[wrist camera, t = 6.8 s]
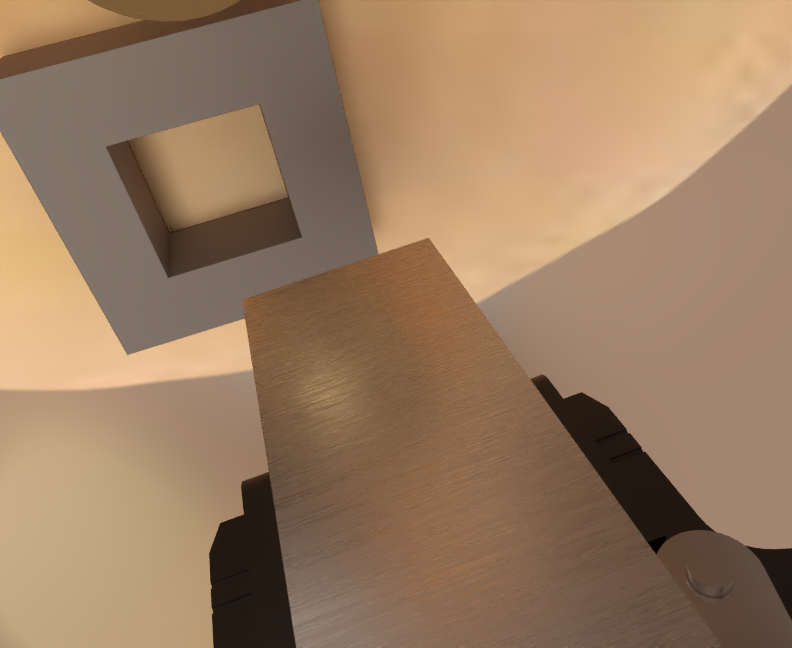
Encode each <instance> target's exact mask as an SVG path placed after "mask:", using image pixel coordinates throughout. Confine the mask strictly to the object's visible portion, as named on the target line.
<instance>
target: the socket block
mask: <svg viewBox="0 0 792 648" xmlns="http://www.w3.org/2000/svg"><path fill="white" fill-rule="evenodd" d="M257 104H259V105H260V108H261V111H262V115H263V118H264V121H265V124H266V127H267V130H268V134H269V137H270V140H271V143H272V146H273V150H274V153H275V156H276V159H277V162H278V165H279V169H280V172H281V175H282V178H283V181H284V184H285V188H286V191H287V194H288V197H289V198H286V199H283V200H280V201H276V202H273V203H269V204H266V205H263V206H259V207H256V208H253V209H249V210H246V211H242V212H239V213H236V214H232V215H229V216H225V217H222V218H219V219H215V220H212V221H208V222H205V223H202V224H198V225H195V226H191V227H188V228H185V229H181V230H178V231H175V232H171V233H169V232H168V229H167V227H166V225H165V223H164V221H163V218H162V216H161V214H160V212H159V209H158V207H157V205H156V203H155V201H154V198H153V196H152V194H151V192H150V190H149V187H148V185H147V183H146V181H145V179H144V176H143V174H142V172H141V170H140V167H139V165H138V163H137V161H136V159H135V156H134V154H133V152H132V150H131V148H130V145H129V143H128V140H131V139H135V138H138V137H142V136H146V135H149V134H153V133H156V132H160V131H164V130H167V129H171V128H174V127H178V126H182V125H185V124H189V123H192V122H196V121H200V120H203V119H207V118H210V117H214V116H218V115H221V114H225V113H228V112H232V111H236V110H239V109H243V108H246V107H250V106H254V105H257ZM0 132H1V133H2V135H3V137H4V139H5V140H6V142H7V144H8V146H9V148H10V149H11V151H12V153H13V155H14V156H15V158H16V160H17V162H18V163H19V165H20V167H21V169H22V170H23V172H24V174H25V176H26V177H27V179H28V181H29V183H30V184H31V186H32V188H33V190H34V191H35V193H36V195H37V197H38V199H39V200H40V202H41V204H42V206H43V207H44V209H45V211H46V213H47V214H48V216H49V218H50V220H51V221H52V223H53V225H54V227H55V228H56V230H57V232H58V234H59V235H60V237H61V239H62V241H63V242H64V244H65V246H66V248H67V249H68V251H69V253H70V255H71V257H72V258H73V260H74V262H75V264H76V265H77V267H78V269H79V271H80V272H81V274H82V276H83V278H84V279H85V281H86V283H87V285H88V286H89V288H90V290H91V292H92V293H93V295H94V297H95V299H96V300H97V302H98V304H99V306H100V307H101V309H102V311H103V313H104V315H105V316H106V318H107V320H108V322H109V323H110V325H111V327H112V329H113V330H114V332H115V334H116V336H117V337H118V339H119V341H120V343H121V344H122V346H123V348H124V350H125V351H126V353H127V355H129V354H132V353H135V352H138V351H142V350H145V349H148V348H151V347H154V346H158V345H161V344H164V343H167V342H170V341H174V340H177V339H180V338H183V337H186V336H190V335H193V334H196V333H199V332H202V331H206V330H209V329H212V328H215V327H218V326H222V325H225V324H228V323H231V322H234V321H238V320H241V319H244V318H245V314H244V307H243V301H242V299H245V298H248V297H251V296H254V295H257V294H260V293H264V292H267V291H270V290H273V289H276V288H279V287H282V286H285V285H288V284H291V283H294V282H297V281H300V280H303V279H306V278H309V277H312V276H315V275H318V274H321V273H324V272H327V271H330V270H333V269H336V268H339V267H342V266H345V265H348V264H351V263H354V262H357V261H360V260H363V259H366V258H369V257H372V256H375V255H378V251H377V246H376V242H375V238H374V234H373V230H372V225H371V221H370V217H369V213H368V208H367V204H366V200H365V196H364V192H363V187H362V183H361V179H360V175H359V171H358V166H357V162H356V158H355V154H354V150H353V145H352V141H351V137H350V133H349V129H348V124H347V120H346V116H345V112H344V107H343V103H342V99H341V95H340V91H339V86H338V82H337V78H336V74H335V70H334V65H333V61H332V57H331V53H330V49H329V44H328V40H327V36H326V32H325V27H324V23H323V19H322V15H321V11H320V6H319V2H318V0H240V1H239V2H237V3H235V4H233V5H231V6H230V7H228V8H226V9H224V10H222V11H219V12H217V13H214V14H211V15H208V16H205V17H201V18H196V19H190V20H185V21H166V22H163V21H152V20H144V21H140V22H136V23H132V24H128V25H125V26H121V27H117V28H113V29H109V30H105V31H101V32H98V33H94V34H90V35H86V36H82V37H78V38H74V39H70V40H67V41H63V42H59V43H55V44H51V45H47V46H43V47H40V48H36V49H32V50H28V51H24V52H20V53H16V54H13V55H9V56H5V57H2V58H1V59H0Z"/></svg>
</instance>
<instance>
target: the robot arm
mask: <svg viewBox="0 0 792 648" xmlns="http://www.w3.org/2000/svg"><path fill="white" fill-rule="evenodd" d="M530 380H531V381H532V382H533V384H534V385H535V387H536V388H537V389H538V391H539V392H540V394H541V395H542V396H543V398H544V399H545V401H546V402H547V403H548V405H549V406H550V408H551V409H552V410H553V412H554V413H555V415H556V416H557V417H558V419H559V420H560V421H561V423H562V424H563V426H564V427H565V428H566V430H567V431H568V433H569V434H570V435H571V437H572V438H573V440H574V441H575V442H576V444H577V445H578V447H579V448H580V449H581V451H582V452H583V454H584V455H585V456H586V458H587V459H588V461H589V462H590V463H591V465H592V466H593V467H594V469H595V470H596V472H597V473H598V474H599V476H600V477H601V479H602V480H603V481H604V483H605V484H606V486H607V487H608V488H609V490H610V491H611V493H612V494H613V495H614V497H615V498H616V500H617V501H618V502H619V504H620V505H621V506H622V508H623V509H624V511H625V512H626V513H627V515H628V516H629V518H630V519H631V520H632V522H633V523H634V525H635V526H636V527H637V529H638V530H639V532H640V533H641V534H642V536H643V537H644V539H645V540H646V541H647V543H648V544H649V545H650V547H651V548H652V550H653V551H654V552H655V554H656V555H657V557H658V558H659V559H660V561H661V562H662V564H663V565H664V566H665V568H666V569H667V571H668V572H669V573H670V575H671V576H672V578H673V579H674V580H675V582H676V583H677V584H678V586H679V587H680V589H681V590H682V591H683V593H684V594H685V596H686V597H687V598H688V600H689V601H690V603H691V604H692V605H693V607H694V608H695V610H696V611H697V612H698V614H699V615H700V617H701V618H702V619H703V621H704V622H705V623H706V625H707V626H708V628H709V629H710V630H711V632H712V633H713V635H714V636H715V637H716V639H717V640H718V642H719V643H720V644H721V646H722V647H723V648H792V548H791V549H760V548H753V547H749V546H745V545H743V544H742V543H740V542H739V541H737V540H735V539H733V538H731V537H729V536H727V535H724V534H721V533H717V532H715V531H714V530H712V529H711V528H710V527H709V526H708V525H706V524H705V522H704V521H702V520H701V518H700V517H699V516H698V515H697V514H696V512H695V511H694V510H693V509H692V508H691V506H690V505H689V504H688V503H687V502H686V500H685V499H684V498H683V497H682V496H681V494H680V493H679V492H678V491H677V489H676V488H675V487H674V486H673V485H672V483H671V482H670V481H669V480H668V479H667V477H666V476H665V475H664V474H663V473H662V472H661V470H660V469H659V468H658V467H657V465H656V464H655V463H654V462H653V461H652V459H651V458H650V457H649V456H648V454H647V453H646V452H643V451H642V449H641V446H640V445H639V444H638V443H637V441H636V440H635V439H634V438H633V436H632V435H631V434H630V433H629V434H628V432H627V430H626V428H625V427H624V426H623V425H622V423H621V422H620V421H619V420H618V418H617V417H616V416H615V415H614V414H613V412H612V411H611V410H610V409H609V407H607V406H605V405H603V404H601V403H600V402H598V401H596V400H594V399H593V398H591V397H589V396H587V395H586V394H584V393H582V392H581V393H578V394H576V395H573V396H570V397H568V398H565V399H563V398H562V397H561V395H560V394H559V393H558V391H557V390H556V389H555V387H554V386H553V385H552V383H551V382H550V381H549V379H548V378H547V377H546V376H544V375H539V376H537V377H534V378H531V379H530ZM241 489H242V500H243V509H244V515H241V516H239V517H236V518H233V519H230V520H228V521H225V522H222V523H220V525H219V528H218V531H217V534H216V537H215V539H214V542H213V545H212V547H211V550H210V553H209V558H210V580H211V585H212V589H211V602H212V609H213V614H212V623H213V644H214V648H296V643H295V636H294V630H293V623H292V617H291V610H290V604H289V597H288V591H287V585H286V578H285V572H284V565H283V559H282V552H281V546H280V539H279V533H278V526H277V520H276V514H275V507H274V501H273V494H272V488H271V481H270V475H269V472H267V473H264V474H262V475H259V476H257V477H253V478H251V479H248V480H245V481H243V482H242V485H241Z"/></svg>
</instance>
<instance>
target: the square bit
mask: <svg viewBox="0 0 792 648" xmlns="http://www.w3.org/2000/svg"><path fill="white" fill-rule="evenodd" d="M242 301H243V307H244V314H245V320H246V327H247V333H248V339H249V346H250V352H251V359H252V365H253V372H254V378H255V385H256V390H257V397H258V403H259V410H260V416H261V423H262V430H263V436H264V442H265V449H266V456H267V461H268V468H269V475H270V481H271V488H272V494H273V501H274V507H275V514H276V520H277V526H278V533H279V539H280V546H281V552H282V559H283V565H284V572H285V578H286V585H287V591H288V597H289V604H290V610H291V617H292V623H293V630H294V636H295V643H296V648H723V647H722V646H721V644H720V643H719V642H718V640H717V639H716V637H715V636H714V635H713V633H712V632H711V630H710V629H709V628H708V626H707V625H706V623H705V622H704V621H703V619H702V618H701V617H700V615H699V614H698V612H697V611H696V610H695V608H694V607H693V605H692V604H691V603H690V601H689V600H688V598H687V597H686V596H685V594H684V593H683V591H682V590H681V589H680V587H679V586H678V584H677V583H676V582H675V580H674V579H673V578H672V576H671V575H670V573H669V572H668V571H667V569H666V568H665V566H664V565H663V564H662V562H661V561H660V559H659V558H658V557H657V555H656V554H655V552H654V551H653V550H652V548H651V547H650V545H649V544H648V543H647V541H646V540H645V539H644V537H643V536H642V534H641V533H640V532H639V530H638V529H637V527H636V526H635V525H634V523H633V522H632V520H631V519H630V518H629V516H628V515H627V513H626V512H625V511H624V509H623V508H622V506H621V505H620V504H619V502H618V501H617V500H616V498H615V497H614V495H613V494H612V493H611V491H610V490H609V488H608V487H607V486H606V484H605V483H604V481H603V480H602V479H601V477H600V476H599V474H598V473H597V472H596V470H595V469H594V467H593V466H592V465H591V463H590V462H589V461H588V459H587V458H586V456H585V455H584V454H583V452H582V451H581V449H580V448H579V447H578V445H577V444H576V442H575V441H574V440H573V438H572V437H571V435H570V434H569V433H568V431H567V430H566V428H565V427H564V426H563V424H562V423H561V421H560V420H559V419H558V417H557V416H556V415H555V413H554V412H553V410H552V409H551V408H550V406H549V405H548V403H547V402H546V401H545V399H544V398H543V396H542V395H541V394H540V392H539V391H538V389H537V388H536V387H535V385H534V384H533V382H532V381H531V380H530V378H529V377H528V376H527V374H526V373H525V371H524V370H523V369H522V367H521V366H520V364H519V363H518V362H517V360H516V359H515V357H514V356H513V355H512V353H511V352H510V350H509V349H508V348H507V346H506V345H505V343H504V342H503V341H502V340H501V338H500V337H499V335H498V334H497V332H496V331H495V330H494V328H493V327H492V325H491V324H490V323H489V321H488V320H487V318H486V317H485V316H484V314H483V313H482V311H481V310H480V309H479V308H478V306H477V304H476V303H475V302H474V300H473V299H472V298H471V296H470V295H469V293H468V292H467V291H466V289H465V288H464V286H463V285H462V284H461V282H460V281H459V279H458V278H457V277H456V275H455V274H454V272H453V271H452V270H451V268H450V267H449V265H448V264H447V263H446V261H445V260H444V259H443V257H442V256H441V254H440V253H439V252H438V250H437V249H436V247H435V246H434V245H433V243H432V242H431V240H430V239H429V238H427V239H424V240H421V241H418V242H415V243H412V244H409V245H406V246H403V247H400V248H397V249H394V250H390V251H387V252H384V253H381V254H378V255H375V256H372V257H369V258H366V259H363V260H360V261H357V262H354V263H351V264H348V265H345V266H342V267H339V268H336V269H333V270H330V271H327V272H324V273H321V274H318V275H315V276H312V277H309V278H306V279H303V280H300V281H297V282H294V283H291V284H288V285H285V286H282V287H279V288H276V289H273V290H270V291H267V292H264V293H260V294H257V295H254V296H251V297H248V298H245V299H242Z"/></svg>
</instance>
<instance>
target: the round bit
mask: <svg viewBox="0 0 792 648" xmlns="http://www.w3.org/2000/svg"><path fill="white" fill-rule="evenodd" d="M88 1H90V2H92V3H94V4H96V5H98V6H100V7H102V8H105V9H108V10H110V11H113V12H116V13H119V14H122V15H125V16H130V17H134V18H139V19H143V20H152V21H163V22H166V21H185V20H190V19H196V18H201V17H205V16H208V15H211V14H214V13H217V12H219V11H222V10H224V9H226V8H228V7H230V6H231V5H233V4H235V3H237V2H239V1H240V0H88Z"/></svg>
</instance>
